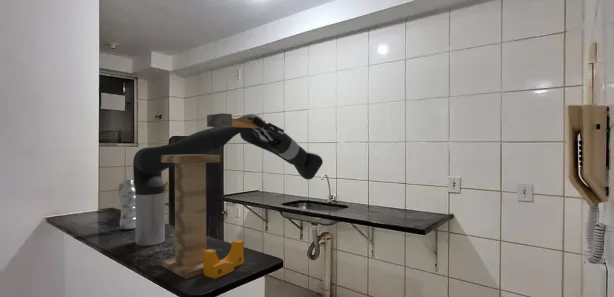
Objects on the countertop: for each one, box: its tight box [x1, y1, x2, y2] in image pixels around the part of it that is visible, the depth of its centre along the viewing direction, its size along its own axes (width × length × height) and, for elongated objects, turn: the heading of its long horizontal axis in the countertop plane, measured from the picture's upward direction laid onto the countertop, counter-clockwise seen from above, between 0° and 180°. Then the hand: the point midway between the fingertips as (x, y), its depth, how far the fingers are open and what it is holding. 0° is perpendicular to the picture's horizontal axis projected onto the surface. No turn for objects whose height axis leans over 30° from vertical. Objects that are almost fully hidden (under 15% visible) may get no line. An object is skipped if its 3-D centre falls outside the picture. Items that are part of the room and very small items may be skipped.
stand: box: [161, 154, 221, 280], centre depth 90 cm, size 14×10×31 cm
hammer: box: [206, 112, 266, 128], centre depth 104 cm, size 8×19×4 cm, turn 138°
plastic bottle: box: [118, 179, 136, 231], centre depth 133 cm, size 6×7×20 cm
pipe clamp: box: [203, 239, 245, 279], centre depth 88 cm, size 12×4×6 cm, turn 147°
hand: (251, 119), depth 107 cm, fingers closed on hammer, 2 cm apart
